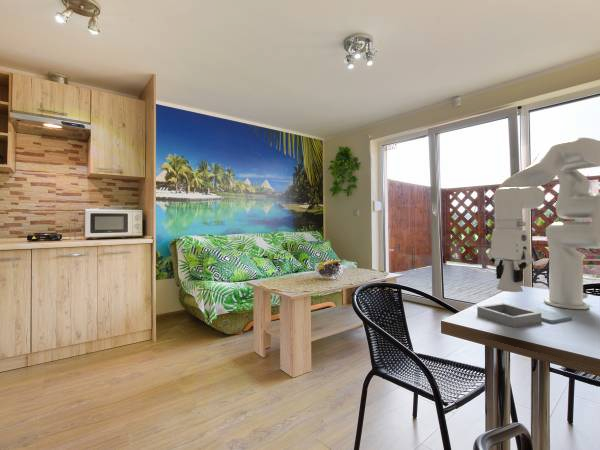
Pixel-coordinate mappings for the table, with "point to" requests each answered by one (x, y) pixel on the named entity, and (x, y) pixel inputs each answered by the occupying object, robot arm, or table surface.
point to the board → (551, 316)
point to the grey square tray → (519, 318)
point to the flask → (508, 278)
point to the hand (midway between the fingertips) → (509, 279)
